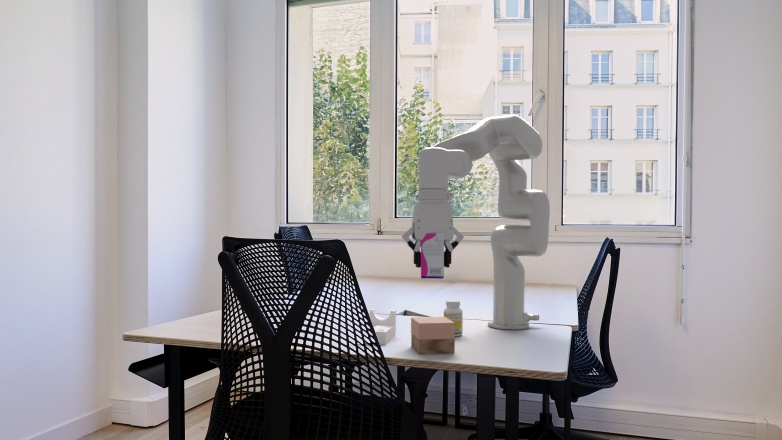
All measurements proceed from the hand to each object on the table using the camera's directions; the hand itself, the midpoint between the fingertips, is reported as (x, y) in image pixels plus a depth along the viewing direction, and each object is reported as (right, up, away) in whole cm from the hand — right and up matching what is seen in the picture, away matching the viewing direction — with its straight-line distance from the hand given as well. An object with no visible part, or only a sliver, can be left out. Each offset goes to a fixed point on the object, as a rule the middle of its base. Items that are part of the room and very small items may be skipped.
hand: (432, 266), depth 154 cm
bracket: (-14, -22, +14) cm, 29 cm away
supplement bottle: (+7, -21, +21) cm, 31 cm away
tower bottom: (0, -22, 0) cm, 22 cm away
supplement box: (0, -3, 0) cm, 3 cm away
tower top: (0, -18, 0) cm, 18 cm away
